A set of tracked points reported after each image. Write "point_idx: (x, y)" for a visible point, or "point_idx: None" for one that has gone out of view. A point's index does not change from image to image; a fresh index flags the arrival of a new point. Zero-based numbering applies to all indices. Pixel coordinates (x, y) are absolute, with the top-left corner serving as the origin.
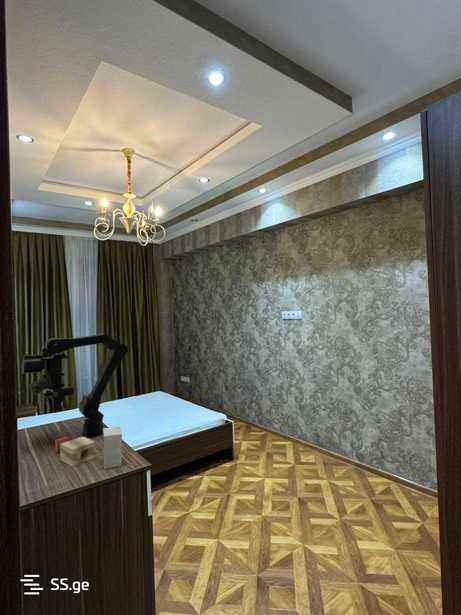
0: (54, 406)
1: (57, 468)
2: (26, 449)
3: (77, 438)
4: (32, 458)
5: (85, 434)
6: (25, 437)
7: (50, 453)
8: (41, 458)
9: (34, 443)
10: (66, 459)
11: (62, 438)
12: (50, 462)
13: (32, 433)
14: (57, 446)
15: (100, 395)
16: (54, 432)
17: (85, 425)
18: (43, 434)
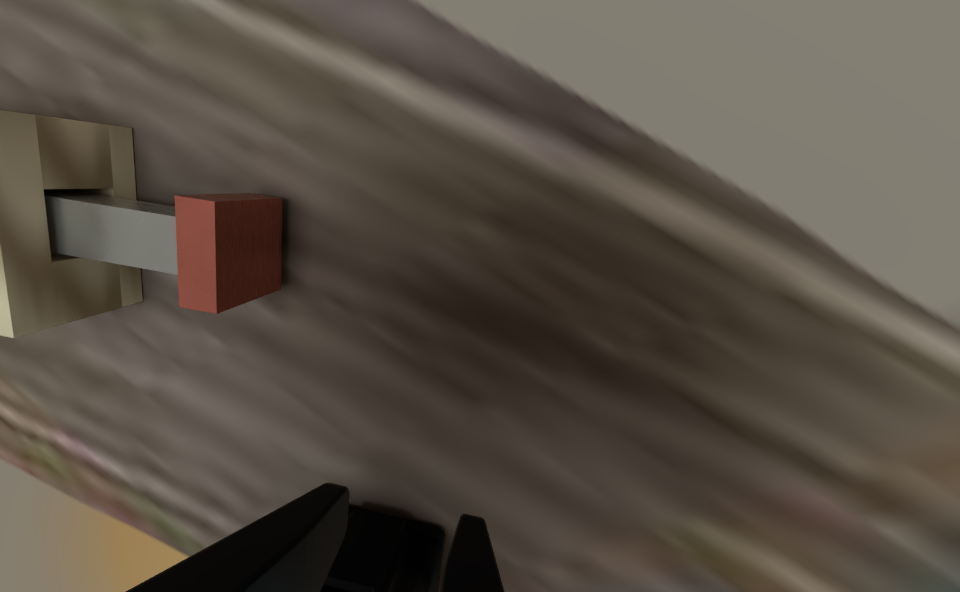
0: (183, 569)
1: (24, 32)
2: (583, 118)
3: (1, 282)
4: (339, 31)
5: (369, 516)
6: (916, 302)
7: (310, 172)
8: (277, 73)
9: (654, 243)
10: (17, 112)
11: (198, 262)
12: (153, 66)
13: (949, 402)
14: (215, 195)
15: None
16: (732, 493)
17: (334, 579)
18: (794, 424)
